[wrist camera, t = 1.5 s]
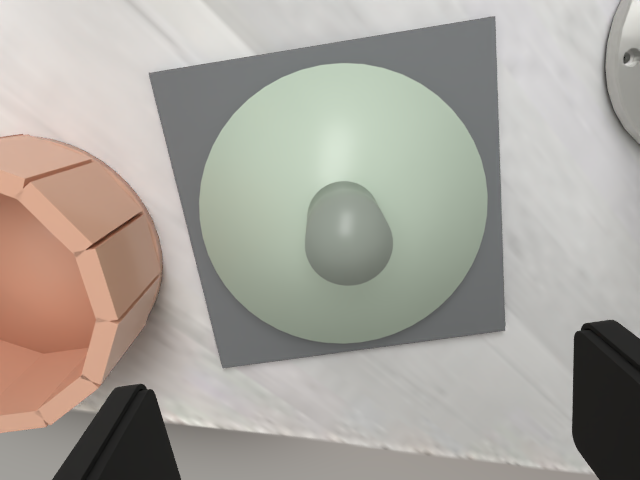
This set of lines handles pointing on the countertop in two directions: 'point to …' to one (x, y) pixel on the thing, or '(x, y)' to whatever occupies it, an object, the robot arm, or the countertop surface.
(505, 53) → the countertop surface
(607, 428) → the robot arm
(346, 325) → the lid
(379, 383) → the countertop surface
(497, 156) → the mat
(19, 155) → the bowl
